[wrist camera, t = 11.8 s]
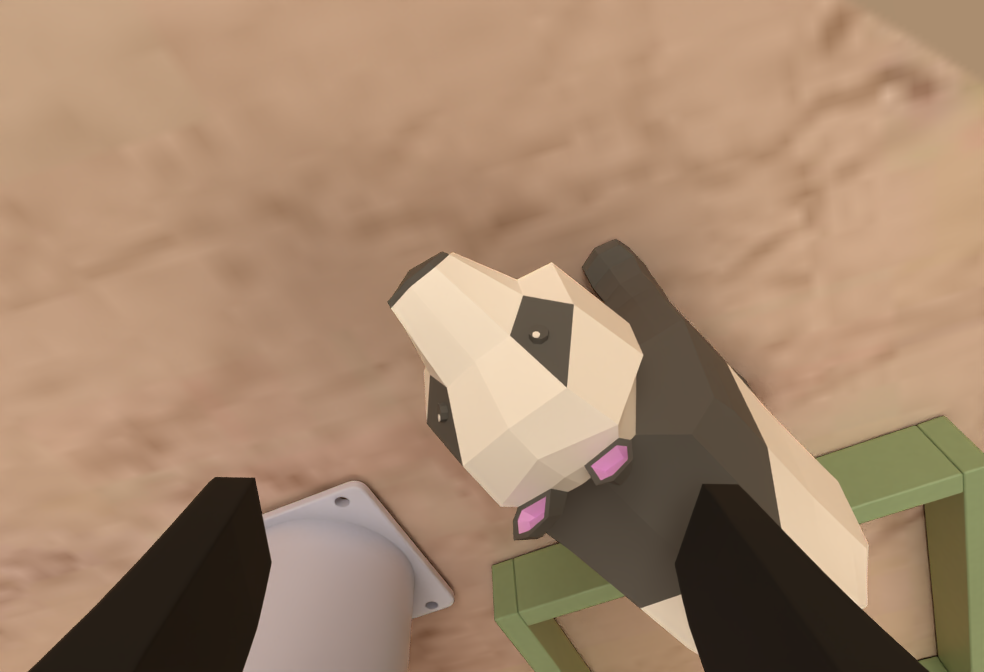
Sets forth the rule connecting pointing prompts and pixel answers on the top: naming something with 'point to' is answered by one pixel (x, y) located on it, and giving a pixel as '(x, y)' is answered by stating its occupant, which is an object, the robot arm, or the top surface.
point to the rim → (871, 495)
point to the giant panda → (609, 421)
